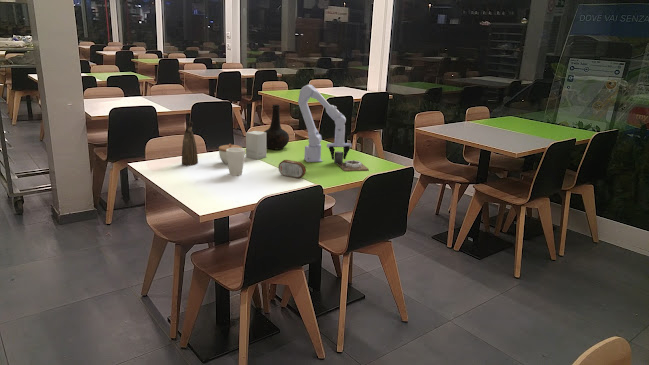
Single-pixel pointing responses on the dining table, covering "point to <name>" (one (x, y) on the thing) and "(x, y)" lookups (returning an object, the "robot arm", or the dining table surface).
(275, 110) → the dark vase
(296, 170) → the tin
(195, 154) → the statue
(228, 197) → the dining table surface
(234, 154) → the foam cup
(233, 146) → the lidded bowl
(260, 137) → the supplement box
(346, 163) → the octagonal socket plate
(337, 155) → the dark grey cylinder peg
